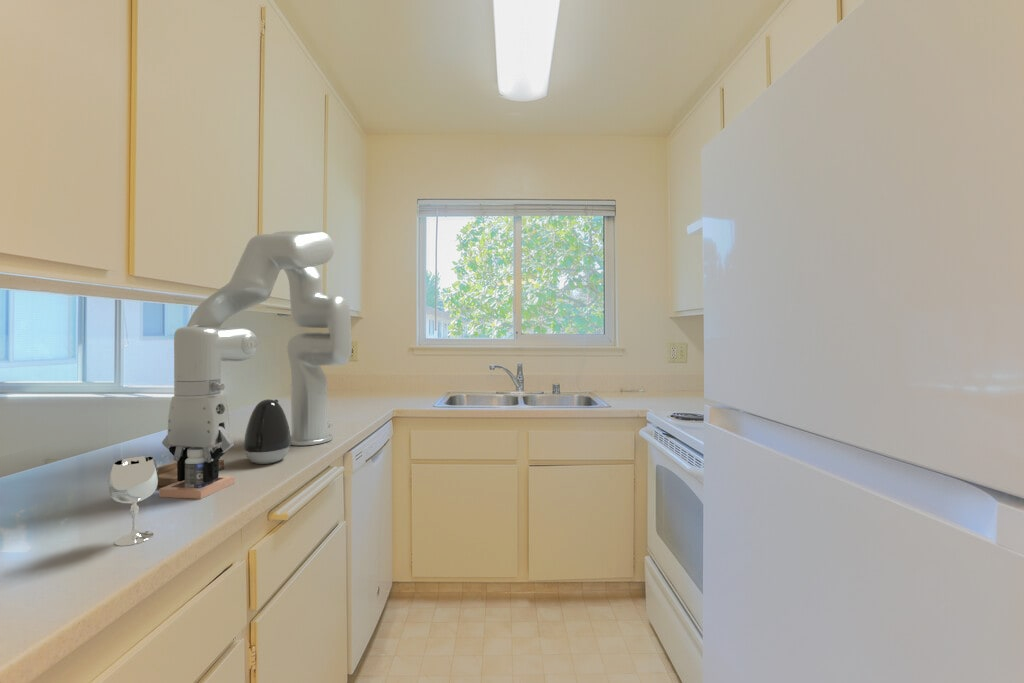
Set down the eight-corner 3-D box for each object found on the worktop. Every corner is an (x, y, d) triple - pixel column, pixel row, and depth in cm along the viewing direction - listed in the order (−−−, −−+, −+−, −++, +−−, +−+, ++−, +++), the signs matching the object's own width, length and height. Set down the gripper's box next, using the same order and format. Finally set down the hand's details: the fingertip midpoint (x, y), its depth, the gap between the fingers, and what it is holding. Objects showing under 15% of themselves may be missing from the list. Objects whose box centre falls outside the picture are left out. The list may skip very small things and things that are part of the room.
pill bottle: (198, 494, 84) (198, 451, 84) (178, 492, 85) (178, 450, 85) (219, 486, 89) (219, 445, 89) (200, 484, 90) (200, 444, 90)
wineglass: (135, 529, 69) (135, 454, 69) (168, 531, 69) (168, 456, 68) (97, 546, 64) (97, 465, 63) (133, 549, 63) (132, 467, 63)
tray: (183, 467, 101) (183, 458, 101) (223, 468, 100) (223, 460, 100) (129, 486, 88) (129, 476, 88) (175, 488, 87) (175, 478, 87)
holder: (195, 481, 91) (195, 474, 91) (234, 483, 91) (234, 476, 91) (159, 496, 83) (159, 489, 83) (200, 498, 82) (200, 490, 82)
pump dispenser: (297, 454, 112) (297, 396, 112) (281, 466, 102) (281, 402, 102) (255, 455, 111) (255, 396, 111) (235, 468, 101) (235, 402, 100)
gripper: (251, 387, 89) (251, 475, 90) (174, 385, 91) (175, 472, 91) (223, 392, 82) (223, 488, 82) (141, 390, 83) (141, 484, 84)
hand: (198, 478), depth 87 cm, fingers closed on pill bottle, 4 cm apart
